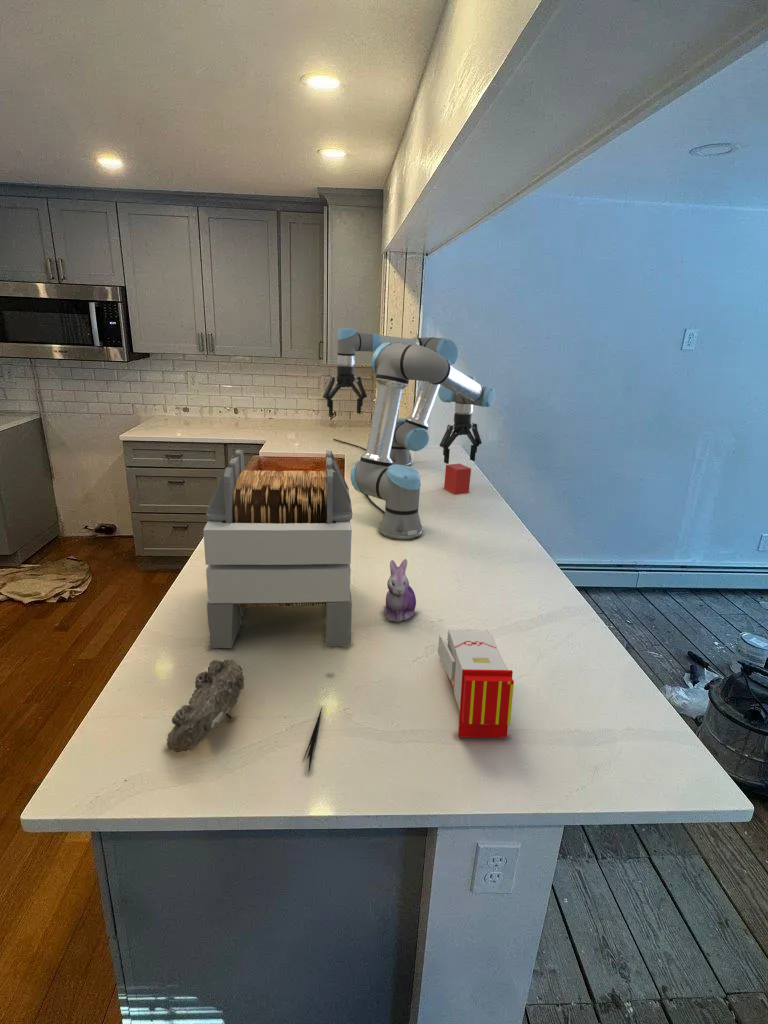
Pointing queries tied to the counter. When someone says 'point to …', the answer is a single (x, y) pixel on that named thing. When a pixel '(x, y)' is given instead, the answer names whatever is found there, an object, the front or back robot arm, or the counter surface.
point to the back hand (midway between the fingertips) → (344, 414)
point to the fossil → (206, 705)
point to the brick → (457, 478)
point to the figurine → (399, 594)
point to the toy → (478, 682)
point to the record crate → (278, 547)
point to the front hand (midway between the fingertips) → (459, 461)
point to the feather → (313, 740)
